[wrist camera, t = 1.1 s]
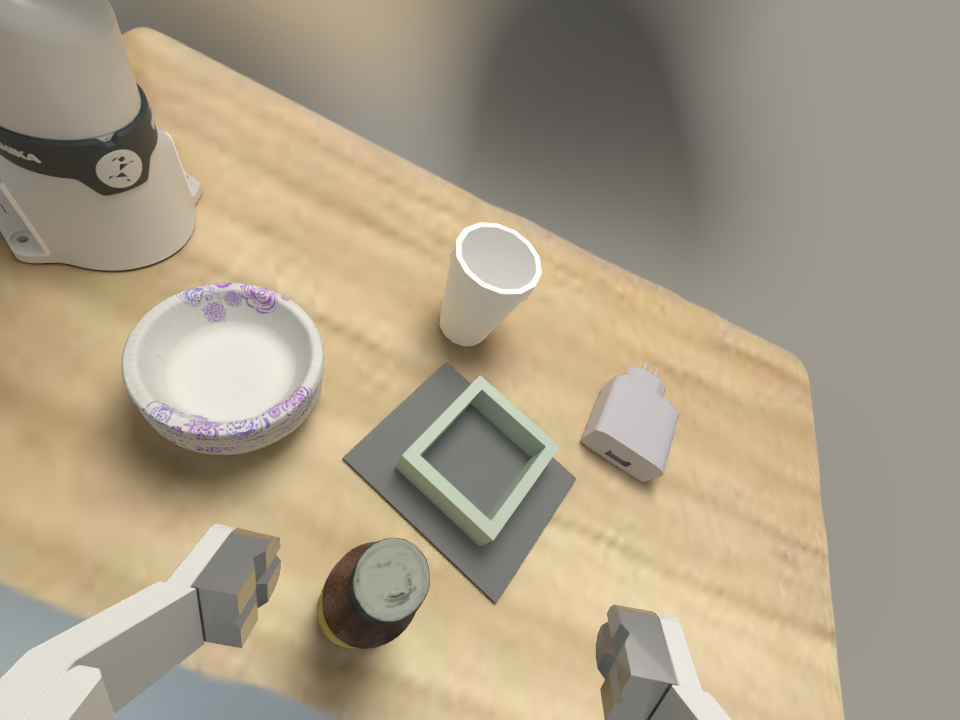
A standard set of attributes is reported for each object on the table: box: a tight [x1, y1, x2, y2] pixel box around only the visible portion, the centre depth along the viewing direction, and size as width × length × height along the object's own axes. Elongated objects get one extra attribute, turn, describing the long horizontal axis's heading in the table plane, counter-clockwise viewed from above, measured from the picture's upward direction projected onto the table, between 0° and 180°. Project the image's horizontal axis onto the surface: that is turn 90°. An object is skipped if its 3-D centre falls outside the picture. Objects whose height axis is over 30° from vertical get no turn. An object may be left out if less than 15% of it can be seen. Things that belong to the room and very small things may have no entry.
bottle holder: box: [395, 375, 560, 547], centre depth 47 cm, size 11×12×4 cm
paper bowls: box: [122, 283, 324, 455], centre depth 42 cm, size 15×15×8 cm
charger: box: [581, 362, 679, 482], centre depth 57 cm, size 5×9×15 cm
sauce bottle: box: [318, 538, 430, 649], centre depth 31 cm, size 6×6×20 cm
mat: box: [343, 362, 576, 603], centre depth 48 cm, size 20×16×1 cm
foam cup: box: [440, 222, 542, 347], centre depth 52 cm, size 10×9×13 cm
